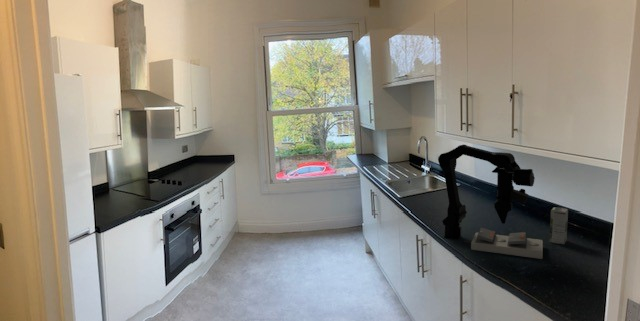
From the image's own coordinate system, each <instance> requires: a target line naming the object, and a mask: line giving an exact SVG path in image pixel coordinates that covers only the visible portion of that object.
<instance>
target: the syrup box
mask: <svg viewBox="0 0 640 321" xmlns="http://www.w3.org/2000/svg"><path fill="white" fill-rule="evenodd" d="M568 218H569V209H568V208H565V207H559V206H558V207H555V206H554V207H552V209H551V210H550V220H549V222H550V223H549V237H548V238H549V241H548V242H549V243H551V244H558V245H565V244H566V243H567V236H568Z"/></svg>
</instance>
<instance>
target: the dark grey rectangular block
mask: <svg viewBox="0 0 640 321" xmlns="http://www.w3.org/2000/svg"><path fill="white" fill-rule="evenodd" d="M477 233H478V235H477V238H479V239H483V240H486V241H489V242H492V241H493V238H494V235H496V234H495V233H496V231H494V230H492V229H487V228H485V227H480V229H479V231H478V232H477Z"/></svg>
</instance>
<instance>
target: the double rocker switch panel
mask: <svg viewBox="0 0 640 321" xmlns="http://www.w3.org/2000/svg"><path fill="white" fill-rule="evenodd" d="M478 233H479V232H475V234H474V235H473V238H472V240H471V241H470V240H463V243H464V244H470V250H472V251H479V252H487V253H488V252H489V253H495V254H501V255H509V256H518V257H524V258H525V257H526V258H530V259H531V258H532V259H538V260H539V259H540V260H543V258H544V257H543V253H544V252H543V250H544V249H543V245H544V244H543V239H539V238H538V239H537V238H529V237H526V239H525V244H508V239H509V235H502V234H495V235H494V238H493V241H492V242H489V241H486V240H483V239H479V238H477V235H478Z"/></svg>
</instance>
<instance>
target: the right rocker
mask: <svg viewBox="0 0 640 321" xmlns="http://www.w3.org/2000/svg"><path fill="white" fill-rule="evenodd" d="M526 235H527V234H526V231H522V232H509V234H508V236H509V239H508V244H525V239H526V238H527V237H526Z"/></svg>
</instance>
